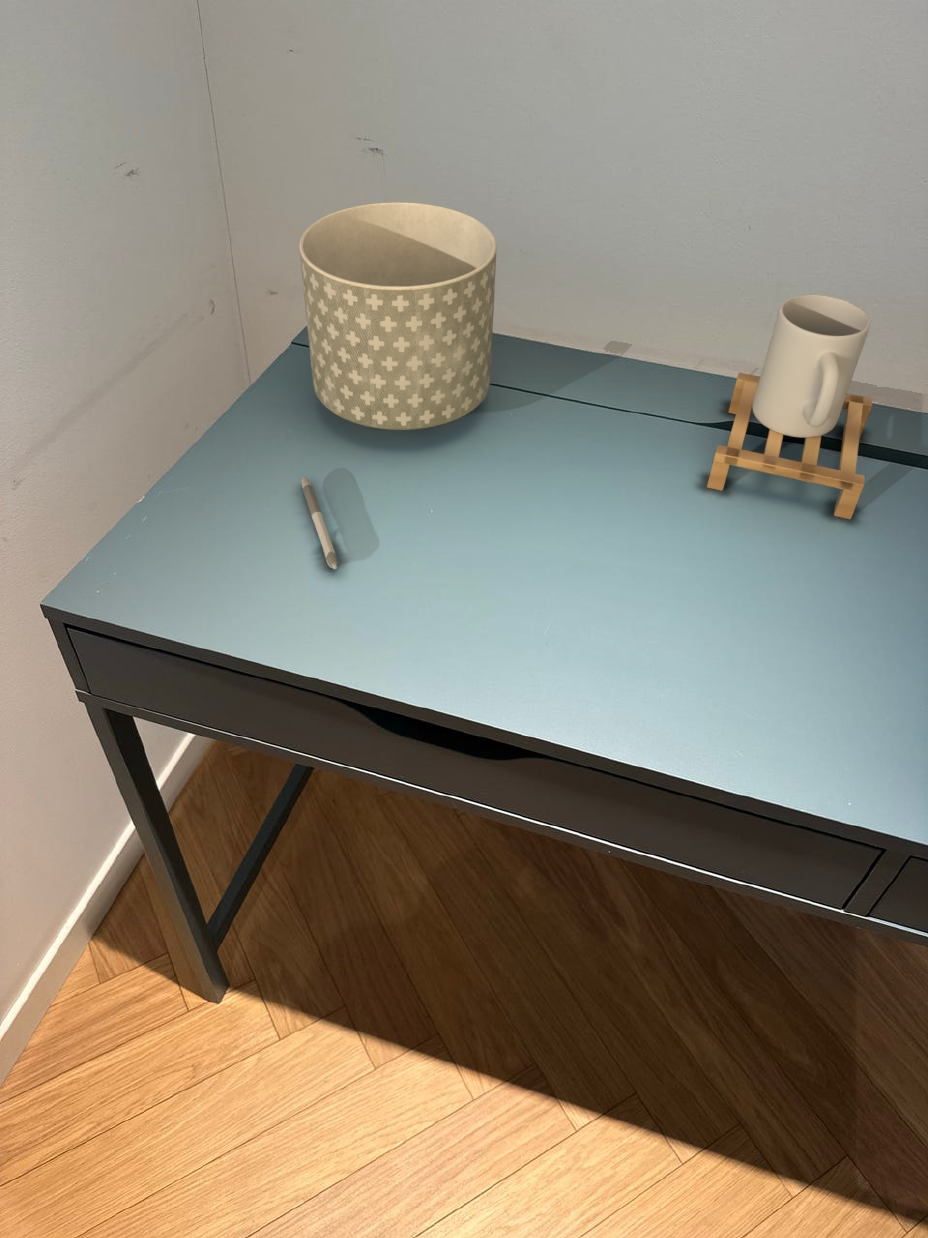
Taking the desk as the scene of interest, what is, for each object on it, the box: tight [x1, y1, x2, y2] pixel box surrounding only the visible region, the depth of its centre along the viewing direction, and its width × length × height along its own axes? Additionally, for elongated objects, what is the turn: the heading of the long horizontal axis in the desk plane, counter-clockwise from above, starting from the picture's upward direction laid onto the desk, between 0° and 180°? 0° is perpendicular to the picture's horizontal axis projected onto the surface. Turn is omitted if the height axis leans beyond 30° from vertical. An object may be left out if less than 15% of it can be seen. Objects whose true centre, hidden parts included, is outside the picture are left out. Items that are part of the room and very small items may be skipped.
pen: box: [301, 476, 339, 570], centre depth 90 cm, size 1×14×1 cm, turn 18°
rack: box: [706, 372, 874, 520], centre depth 99 cm, size 16×14×4 cm
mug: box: [752, 294, 871, 439], centre depth 93 cm, size 12×8×11 cm
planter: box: [298, 201, 498, 431], centre depth 99 cm, size 19×19×18 cm
